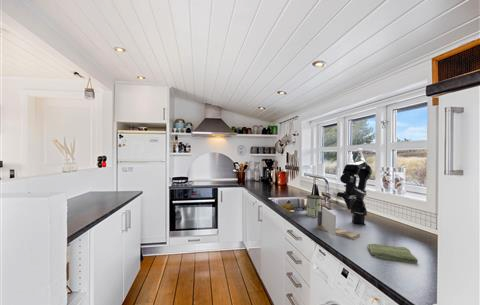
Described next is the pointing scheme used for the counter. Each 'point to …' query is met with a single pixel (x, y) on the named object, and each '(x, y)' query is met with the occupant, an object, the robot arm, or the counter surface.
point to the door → (328, 221)
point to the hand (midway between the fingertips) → (349, 209)
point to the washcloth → (392, 253)
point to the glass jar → (313, 205)
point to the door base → (338, 231)
